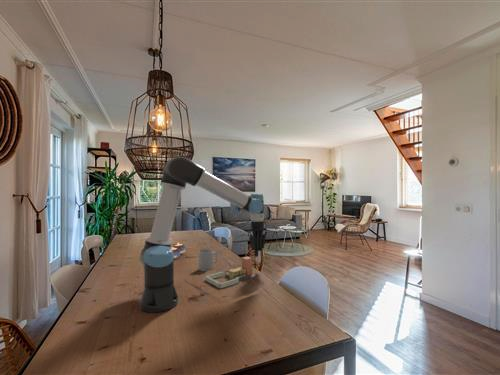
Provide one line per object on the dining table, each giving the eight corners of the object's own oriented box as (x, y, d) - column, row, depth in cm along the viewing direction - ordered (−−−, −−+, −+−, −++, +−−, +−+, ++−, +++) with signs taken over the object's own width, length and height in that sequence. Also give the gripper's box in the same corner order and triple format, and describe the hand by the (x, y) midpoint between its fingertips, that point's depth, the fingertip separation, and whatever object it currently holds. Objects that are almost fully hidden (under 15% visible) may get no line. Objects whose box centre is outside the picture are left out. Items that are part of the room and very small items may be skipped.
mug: (202, 272, 147) (201, 253, 147) (196, 268, 154) (196, 250, 154) (220, 268, 153) (220, 250, 153) (214, 265, 160) (214, 247, 160)
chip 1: (233, 279, 131) (233, 272, 131) (228, 277, 134) (228, 270, 134) (239, 278, 133) (239, 270, 133) (234, 276, 137) (234, 268, 137)
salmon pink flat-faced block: (246, 275, 137) (246, 259, 137) (242, 274, 140) (241, 257, 140) (252, 274, 139) (252, 257, 139) (247, 272, 142) (247, 256, 142)
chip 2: (239, 277, 134) (239, 270, 134) (235, 275, 137) (235, 268, 137) (245, 276, 136) (245, 268, 136) (241, 274, 139) (241, 267, 139)
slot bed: (236, 283, 128) (236, 278, 128) (225, 278, 136) (225, 273, 136) (256, 277, 137) (256, 272, 137) (245, 272, 145) (245, 268, 145)
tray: (220, 290, 120) (220, 283, 120) (205, 282, 131) (205, 276, 131) (238, 285, 127) (238, 278, 127) (223, 277, 138) (223, 271, 138)
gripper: (252, 222, 137) (253, 265, 138) (270, 220, 146) (270, 260, 146) (244, 221, 143) (245, 262, 143) (261, 218, 152) (262, 258, 152)
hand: (258, 261), depth 145 cm, fingers closed
